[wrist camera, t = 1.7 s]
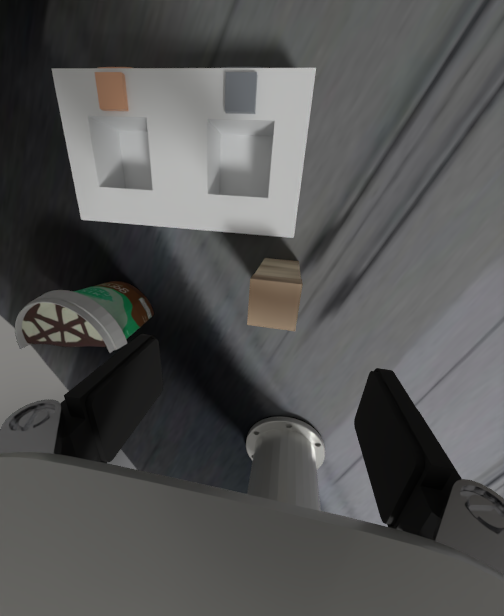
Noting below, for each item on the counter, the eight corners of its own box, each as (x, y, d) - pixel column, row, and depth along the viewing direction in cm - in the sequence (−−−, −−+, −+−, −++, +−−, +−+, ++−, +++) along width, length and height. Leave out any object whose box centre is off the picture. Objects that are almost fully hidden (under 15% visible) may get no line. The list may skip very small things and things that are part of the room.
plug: (294, 294, 29) (295, 331, 20) (261, 290, 29) (247, 324, 20) (299, 260, 27) (302, 284, 18) (264, 257, 28) (250, 278, 19)
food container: (155, 271, 31) (96, 296, 22) (164, 314, 33) (114, 353, 24) (74, 273, 33) (-10, 296, 24) (88, 313, 35) (15, 348, 26)
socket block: (293, 233, 26) (293, 238, 21) (114, 218, 29) (78, 219, 24) (311, 94, 22) (317, 59, 17) (96, 92, 24) (45, 61, 19)
